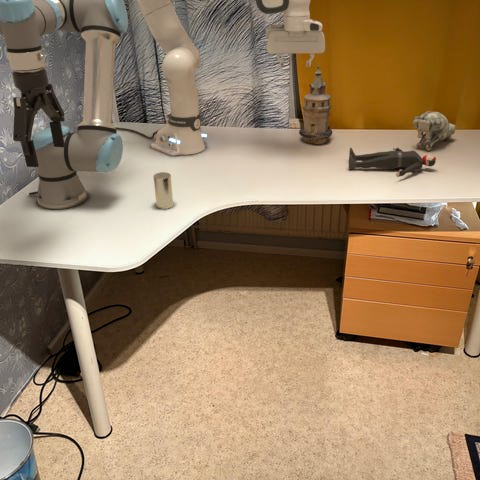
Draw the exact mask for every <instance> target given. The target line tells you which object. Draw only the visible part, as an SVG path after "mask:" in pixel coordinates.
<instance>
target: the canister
mask: <svg viewBox="0 0 480 480" xmlns="http://www.w3.org/2000/svg"><path fill="white" fill-rule="evenodd" d="M152 176H153V186H154V195H155V196H154V197H155V205H156V208H157V209H160V210H167V209H171V208H173V206H174V198H173V186H172V175H171V173H169V172H166V171H165V172H163V171H161V172H157V173H155V174H153V175H152Z"/></svg>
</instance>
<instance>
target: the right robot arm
mask: <svg viewBox="0 0 480 480" xmlns="http://www.w3.org/2000/svg"><path fill="white" fill-rule="evenodd" d="M311 1H312V0H255V5H256V7H257V9H258V10H259V11H260V12H262V14H265V15H275V14H278V13H283V24H270V25H269V26H267V27H266V29H265V37H266V39H267V42H266V52H267V54H269V55H270V54H276V58H277V60H278V62H279V67H280V68H283V67H285V61H284V60H282V58H281V55H282V54H309V57H310V58H309V59H308V60H306V65H305V66H306V68H309V67H311V65H312V61H313V60H314V58H315V54H324V53H325V51H326V38H325V34H324V32H323V31H322V30H323V29H324V28H323V24H322V22H320V21H318V20H315V19H312V18H311V12H310V5H311ZM136 2H137V5H138V7H139V10H140V12H141V15H142V16H143V19H144V21H145V23H146V25H147V27H148V29H149V31H150V34H151V35H152V37H153V39H154V41H156V42H157V43H158V44H159V46H160V48H161V49H162V50H163V51H164V53H165V56H163V57H164V58H163V60H162V64H161V71H162V73H163V75H164V78H165V84H166V87H167V91H168V97H169V106H170V109H169V110H170V113H168V114H167V115H165V119H166V120H167V123H166V124H164V125H163V126H162V127H161V128H160V129H158V130H156V131H155V132H153V134H152V136H151V137H150V136H147V135H146V134H144V133H143V132H140V131H137V130H135V129H132V128H126V127H125V128H124V127H119V126H118V127H117V126H114V127H115V128H116V129H117V130H121V131H129V132H132V133H136V134H138V135H139V136H143V137H144V138H146V139H149V140H153V139H154V138H155V137H156V138H155V141H153V142H151V144H150V148H152V149H154V150H157V151H159V152H161V153H164V154H167V155H169V156H174V157H175V156H176V157H177V156H182V155H183V156H186V155H194V154H199V153H201V152H204V151H205V149H206V145H205V142H204V139H203V138H207V136H208V135H207V134H206V133H202V127H201V126H202V115H201V112H200V100H199V99H200V98H199V97H200V95H199V91H198V88H197V83H196V77H195V73H196V72H195V71H196V70H197V69H198V68H199V66H200V59H201V56H200V55H201V54H200V51H199V49H198V48H197V47H196V46H195V45H194V43H193V41H192V39H191V38H190V36H189V34H188V33H187V31H186V30H185V28H184V27H183V25H182V23H181V21H180V19H179V17H178V14H177V12H176V10H175V8H174V5H173V4H172V1H171V0H136ZM155 135H156V136H155Z"/></svg>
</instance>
